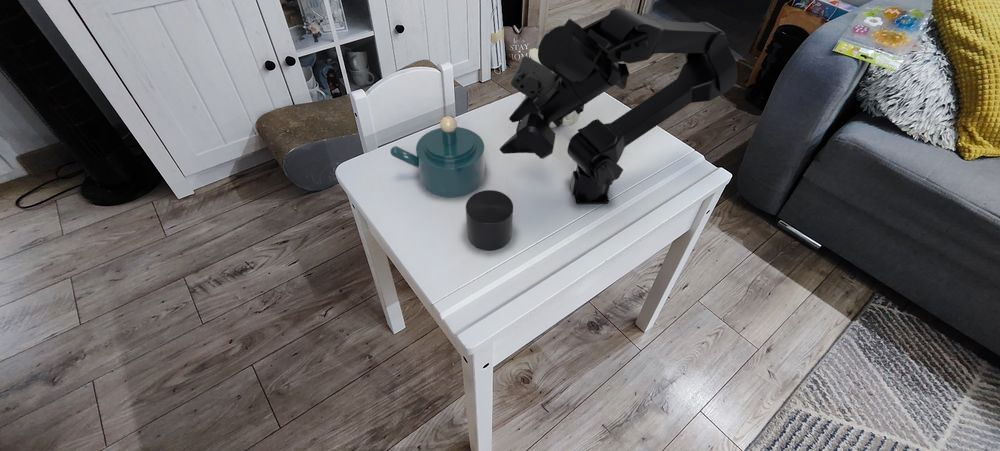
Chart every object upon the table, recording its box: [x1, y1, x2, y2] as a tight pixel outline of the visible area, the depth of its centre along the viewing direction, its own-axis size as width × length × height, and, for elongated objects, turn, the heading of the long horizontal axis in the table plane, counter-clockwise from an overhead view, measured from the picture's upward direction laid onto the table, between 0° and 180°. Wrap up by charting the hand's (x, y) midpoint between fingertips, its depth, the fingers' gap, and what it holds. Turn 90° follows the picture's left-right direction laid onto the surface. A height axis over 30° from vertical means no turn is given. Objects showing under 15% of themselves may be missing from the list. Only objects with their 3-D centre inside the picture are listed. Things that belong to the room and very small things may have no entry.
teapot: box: [389, 115, 485, 198], centre depth 91 cm, size 18×17×8 cm
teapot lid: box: [425, 115, 474, 159], centre depth 84 cm, size 9×9×6 cm
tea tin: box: [465, 189, 514, 252], centre depth 79 cm, size 8×8×7 cm
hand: (506, 135), depth 80 cm, fingers open, 9 cm apart
